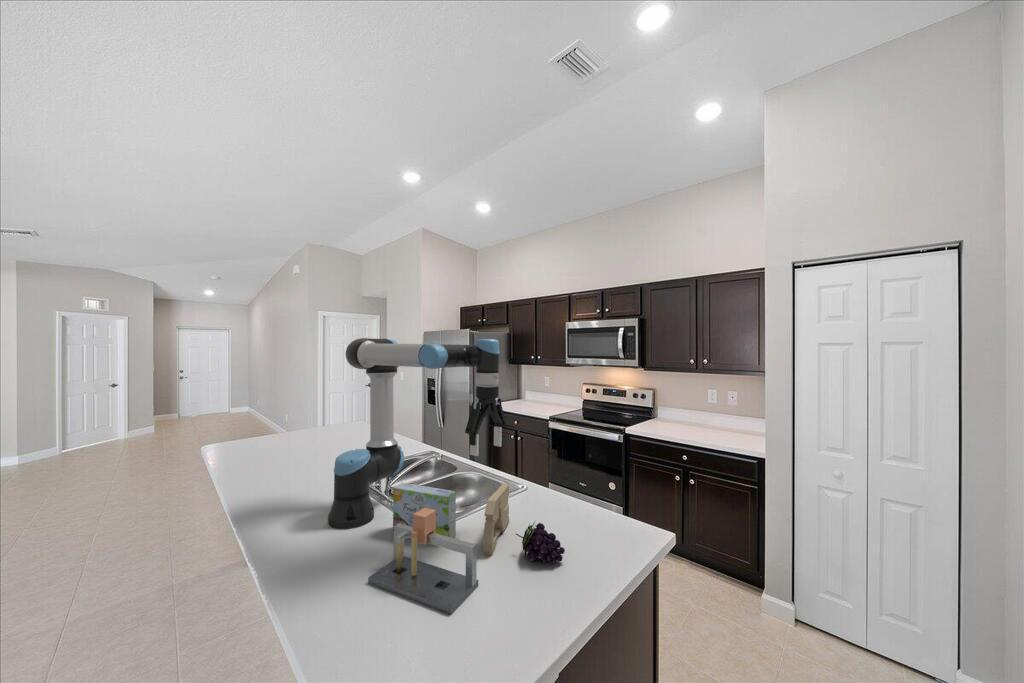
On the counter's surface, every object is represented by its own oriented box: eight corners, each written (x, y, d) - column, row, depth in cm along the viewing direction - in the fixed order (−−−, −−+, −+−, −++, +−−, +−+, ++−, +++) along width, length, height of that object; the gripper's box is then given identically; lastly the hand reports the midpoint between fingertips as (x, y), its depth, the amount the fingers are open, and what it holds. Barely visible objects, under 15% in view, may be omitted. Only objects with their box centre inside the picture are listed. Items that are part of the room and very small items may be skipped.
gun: (492, 558, 110) (493, 504, 112) (481, 556, 111) (483, 503, 112) (509, 527, 134) (510, 483, 135) (500, 526, 134) (501, 483, 136)
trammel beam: (383, 571, 102) (383, 531, 103) (398, 560, 108) (398, 523, 108) (463, 599, 91) (464, 555, 91) (476, 586, 96) (476, 544, 96)
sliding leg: (406, 573, 99) (407, 517, 99) (423, 560, 105) (424, 507, 106) (418, 577, 97) (419, 520, 98) (435, 564, 104) (436, 510, 104)
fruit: (556, 581, 105) (506, 558, 109) (563, 555, 114) (517, 535, 119) (564, 550, 102) (513, 528, 107) (571, 526, 112) (524, 507, 116)
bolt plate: (368, 583, 98) (368, 577, 98) (400, 560, 109) (400, 555, 109) (450, 615, 86) (451, 608, 86) (478, 585, 97) (478, 580, 97)
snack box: (391, 533, 125) (392, 487, 125) (401, 525, 130) (402, 481, 130) (447, 545, 117) (448, 496, 118) (456, 536, 123) (457, 489, 123)
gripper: (474, 389, 112) (473, 461, 112) (516, 383, 133) (515, 443, 133) (454, 388, 116) (453, 457, 115) (498, 382, 137) (497, 441, 137)
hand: (486, 450), depth 124 cm, fingers open, 13 cm apart
